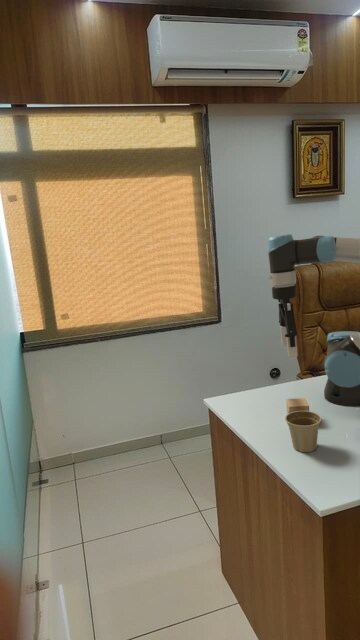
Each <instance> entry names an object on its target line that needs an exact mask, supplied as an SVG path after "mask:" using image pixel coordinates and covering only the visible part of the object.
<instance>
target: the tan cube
mask: <svg viewBox="0 0 360 640" xmlns="http://www.w3.org/2000/svg"><path fill="white" fill-rule="evenodd" d="M285 401H286V415H287V414H289V413H291V412H295V411H310V405H309V402H308V400H307V398H306V397H302V398H301V397H300V398H286V400H285Z"/></svg>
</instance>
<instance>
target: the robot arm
mask: <svg viewBox="0 0 360 640" xmlns="http://www.w3.org/2000/svg"><path fill="white" fill-rule="evenodd" d="M267 248H268V251H267V253H268V262H269V269H270V271H269V272H270V276H269V277H268V279H269V280H271V281H270V282H271V283H270V284H271V286H273V287H271V293H272V294H271V295H272V299H273V300H277V301H278V304H277V305H278V323H279V326H280V336H281V337H280V338H281V347H285V346H287V355H288V356H287V357H288V358H296V357H299V355H298V341H297V336H298V332H297V324H296V317H295V312H294V304H293V302H291V300H292V299H294V298H296V297H297V296H298V289H297V285H296V283H297V275H296V272H297V271H296V267H295V266H297V265H299V266H300V265H311V264H321V263H322V264H325V263H328V262H334V261H335V262H347V263H356V264H357V263H358V264H360V238H354V237H336V236H333V235H329V236H327V235H326V236H325V235H315V236H313V237H311V238H310V237H308V238H304V239H294V238H293V235H292V234H289V233H288V234H282V235H280V234H279V235H275V236H274V235H273V236H270V237H269V238H268V240H267ZM326 338H327V339H326V342H327V352H326V357H325V359H324V364H323V365H324V366H323V367H324V371H325V374H326V377H327V379H326V383H325V386H324V389H323V393H324V394H323V396H324V399H325V400H326V401H328V402H329V403H333V404H336V405H340V406H360V332H359V331H349V330H348V331H332V332H329V333H328V334H327V336H326Z"/></svg>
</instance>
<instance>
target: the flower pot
mask: <svg viewBox="0 0 360 640" xmlns="http://www.w3.org/2000/svg"><path fill="white" fill-rule="evenodd" d="M284 421H285V422H286V425H287V426H288V430H289V432H290V433H289V434H290V437H291V443H292V446H293V449H295V451H299V452H301V453H310V452H313V451H314V450H316V449H317V446H318V436H319V435H318V434H319V427H320V426H321V425H320V423H321V422H322V417H321V415H319V414H318V413H316V412H314V411H311V410H309V411H295V412H291V413H289V414H287V413H286V415H285V417H284Z"/></svg>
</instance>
